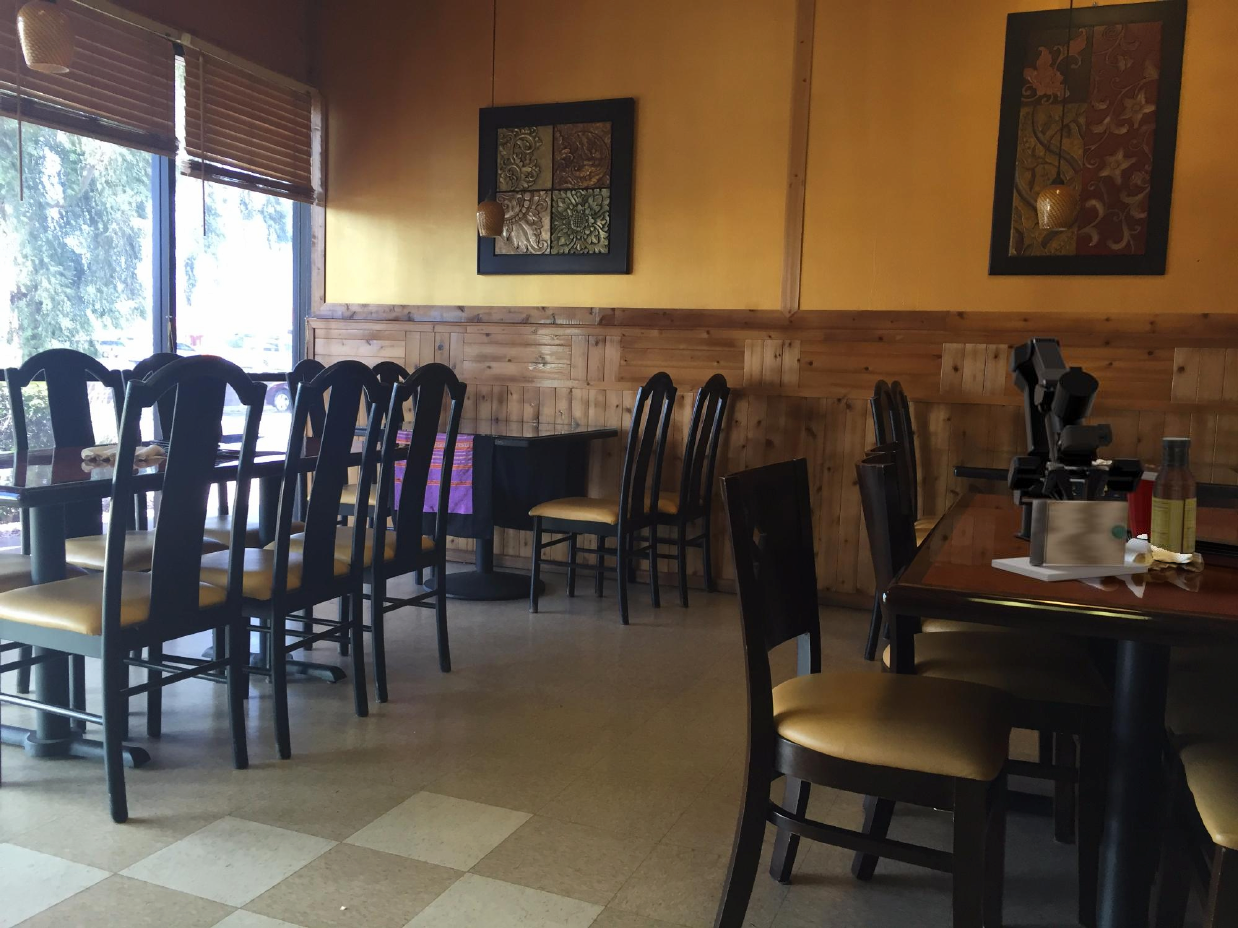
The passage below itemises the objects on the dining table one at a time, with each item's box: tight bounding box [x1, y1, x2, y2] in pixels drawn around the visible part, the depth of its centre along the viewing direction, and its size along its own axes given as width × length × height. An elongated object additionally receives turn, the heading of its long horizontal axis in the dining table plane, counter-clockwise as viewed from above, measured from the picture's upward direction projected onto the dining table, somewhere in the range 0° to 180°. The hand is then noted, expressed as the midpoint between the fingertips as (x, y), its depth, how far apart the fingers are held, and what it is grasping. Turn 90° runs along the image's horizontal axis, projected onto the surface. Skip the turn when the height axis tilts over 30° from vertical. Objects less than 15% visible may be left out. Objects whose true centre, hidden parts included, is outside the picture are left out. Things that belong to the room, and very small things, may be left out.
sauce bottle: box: [1150, 437, 1197, 555], centre depth 157 cm, size 7×6×20 cm
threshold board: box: [991, 556, 1149, 582], centre depth 150 cm, size 20×11×1 cm, turn 112°
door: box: [1029, 499, 1129, 565], centre depth 147 cm, size 14×4×10 cm, turn 92°
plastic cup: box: [1126, 471, 1158, 541], centre depth 179 cm, size 11×11×12 cm
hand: (1081, 518), depth 148 cm, fingers closed
